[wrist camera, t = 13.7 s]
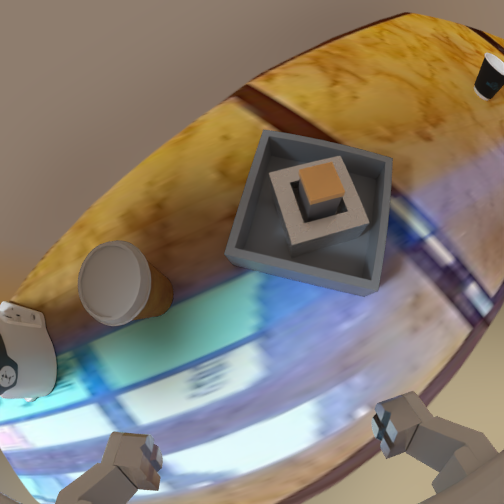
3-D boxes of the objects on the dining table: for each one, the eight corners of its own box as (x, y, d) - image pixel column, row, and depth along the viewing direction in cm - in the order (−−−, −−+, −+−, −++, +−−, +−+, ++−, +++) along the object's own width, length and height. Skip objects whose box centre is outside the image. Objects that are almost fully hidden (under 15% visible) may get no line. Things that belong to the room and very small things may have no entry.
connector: (306, 227, 36) (310, 200, 28) (296, 201, 37) (298, 169, 29) (333, 219, 36) (345, 191, 28) (324, 193, 37) (332, 161, 29)
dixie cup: (479, 81, 43) (495, 53, 33) (498, 105, 41) (517, 77, 31) (462, 81, 44) (479, 51, 33) (483, 106, 41) (502, 76, 31)
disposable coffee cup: (155, 248, 41) (112, 220, 29) (198, 293, 38) (162, 279, 27) (115, 294, 40) (63, 281, 28) (153, 342, 37) (105, 344, 26)
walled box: (233, 265, 39) (224, 254, 33) (266, 153, 43) (263, 129, 37) (364, 296, 36) (377, 291, 30) (380, 178, 40) (392, 158, 34)
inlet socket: (291, 257, 37) (292, 245, 31) (271, 194, 40) (268, 172, 34) (357, 238, 37) (369, 222, 31) (334, 178, 39) (340, 155, 33)
